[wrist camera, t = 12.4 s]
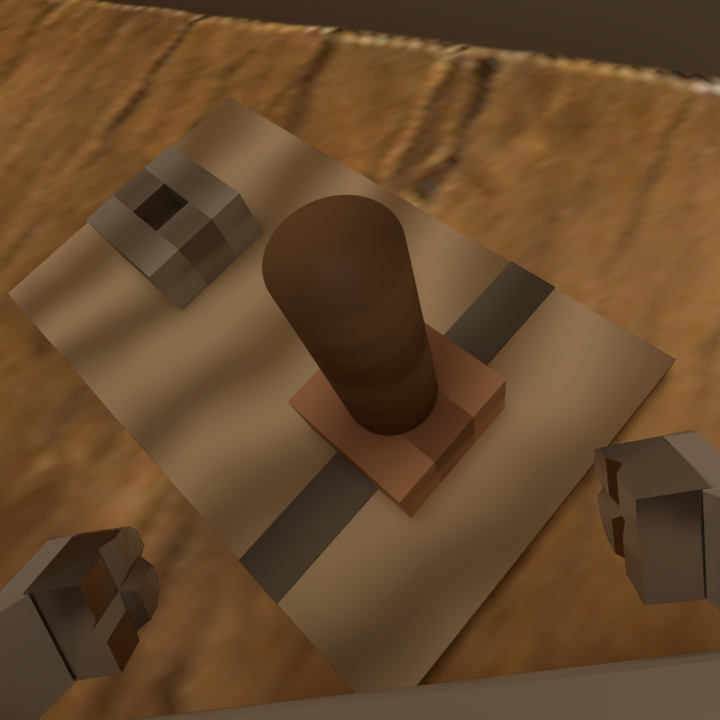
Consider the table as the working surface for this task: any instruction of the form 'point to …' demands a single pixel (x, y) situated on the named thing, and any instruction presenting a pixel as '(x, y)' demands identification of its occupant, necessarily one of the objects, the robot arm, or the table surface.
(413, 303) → the brown wooden peg
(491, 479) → the subfloor panel
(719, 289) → the table surface
